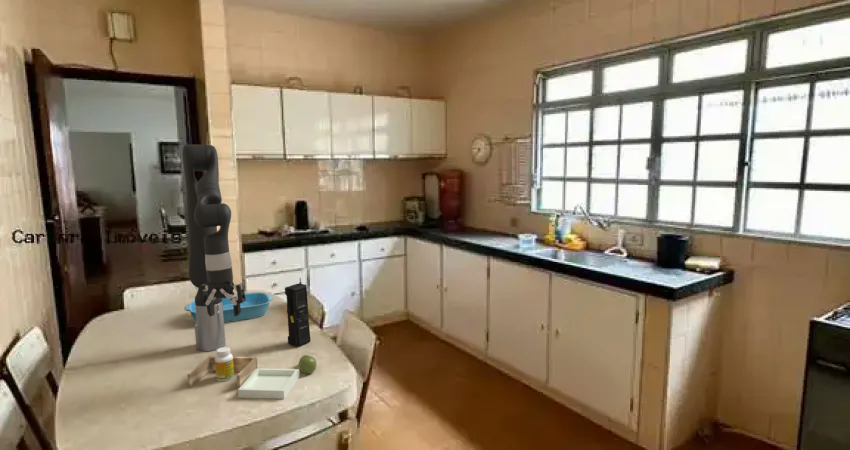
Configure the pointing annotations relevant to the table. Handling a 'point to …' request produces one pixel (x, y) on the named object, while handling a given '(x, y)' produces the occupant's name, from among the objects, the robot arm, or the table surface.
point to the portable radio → (297, 314)
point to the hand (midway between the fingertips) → (224, 315)
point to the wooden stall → (240, 364)
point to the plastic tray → (269, 383)
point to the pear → (307, 364)
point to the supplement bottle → (224, 364)
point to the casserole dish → (241, 307)
